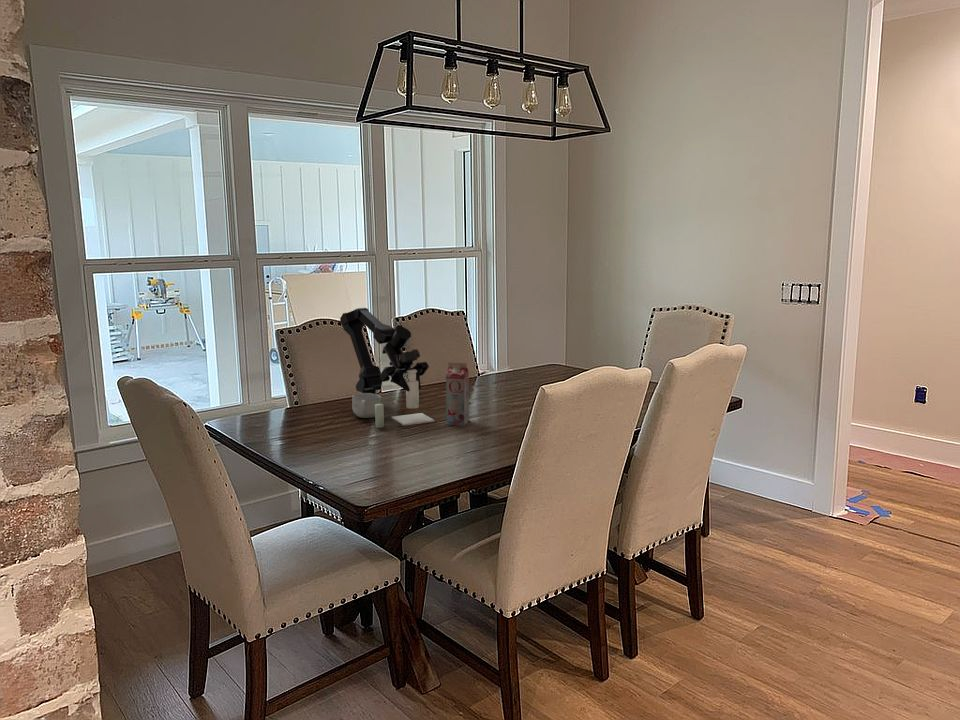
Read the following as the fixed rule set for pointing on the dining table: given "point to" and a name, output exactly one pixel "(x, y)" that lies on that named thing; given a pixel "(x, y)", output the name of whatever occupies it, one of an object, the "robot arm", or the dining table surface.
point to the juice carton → (457, 394)
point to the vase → (412, 390)
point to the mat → (412, 419)
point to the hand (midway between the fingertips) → (414, 389)
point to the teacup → (365, 404)
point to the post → (379, 415)
